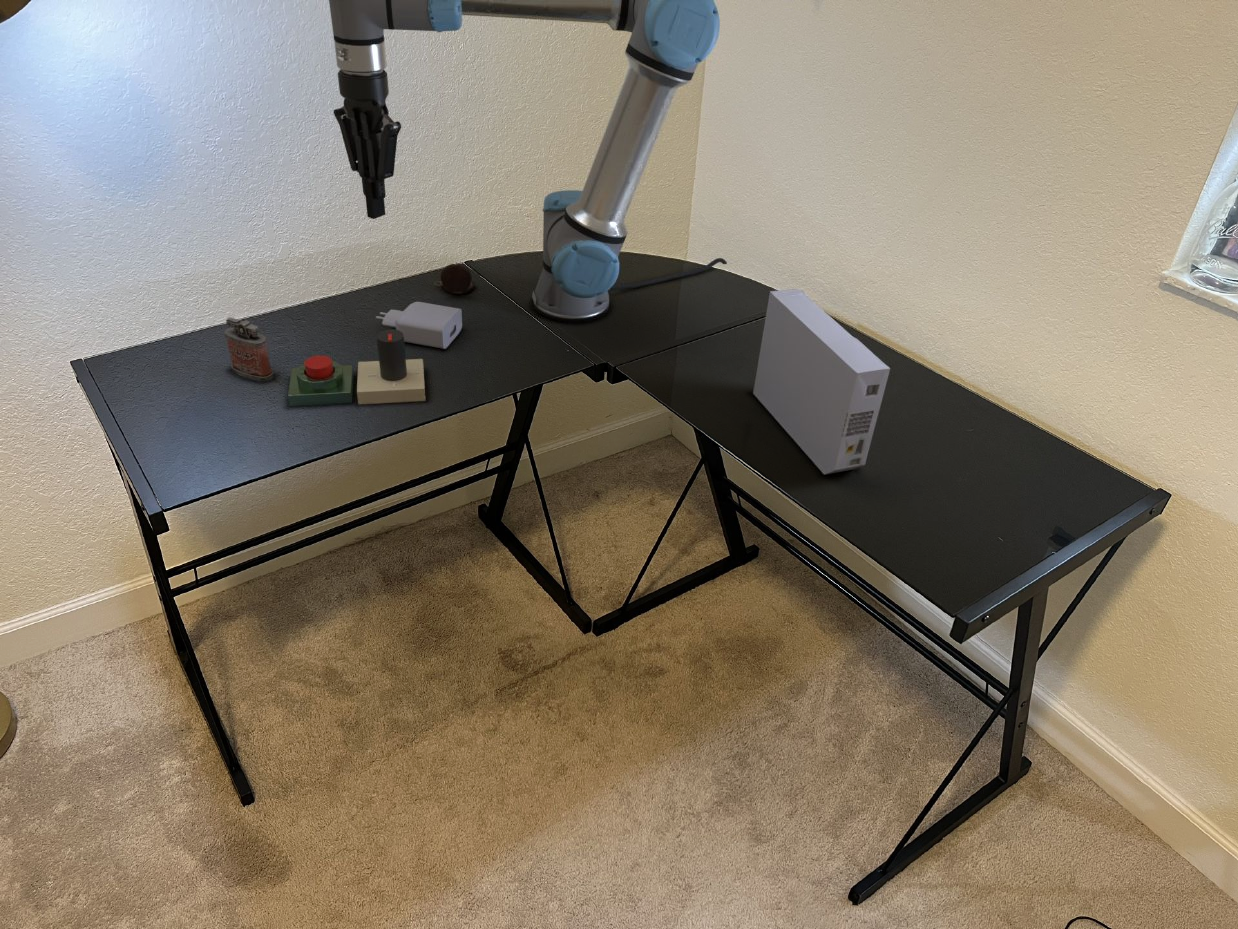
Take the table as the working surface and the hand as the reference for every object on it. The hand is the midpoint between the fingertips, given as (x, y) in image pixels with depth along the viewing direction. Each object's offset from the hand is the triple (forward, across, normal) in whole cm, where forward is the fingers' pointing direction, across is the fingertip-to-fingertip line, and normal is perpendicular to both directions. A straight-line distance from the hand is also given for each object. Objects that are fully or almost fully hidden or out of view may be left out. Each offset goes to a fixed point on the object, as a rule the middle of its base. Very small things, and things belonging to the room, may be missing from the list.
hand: (376, 215), depth 160 cm
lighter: (+25, -10, -23) cm, 35 cm away
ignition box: (+24, +4, -19) cm, 31 cm away
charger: (+25, +1, +6) cm, 25 cm away
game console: (+25, +74, +21) cm, 81 cm away
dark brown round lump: (+25, -6, +24) cm, 35 cm away
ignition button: (+21, +3, -19) cm, 28 cm away
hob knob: (+22, +12, -11) cm, 27 cm away
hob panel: (+24, +12, -11) cm, 29 cm away
